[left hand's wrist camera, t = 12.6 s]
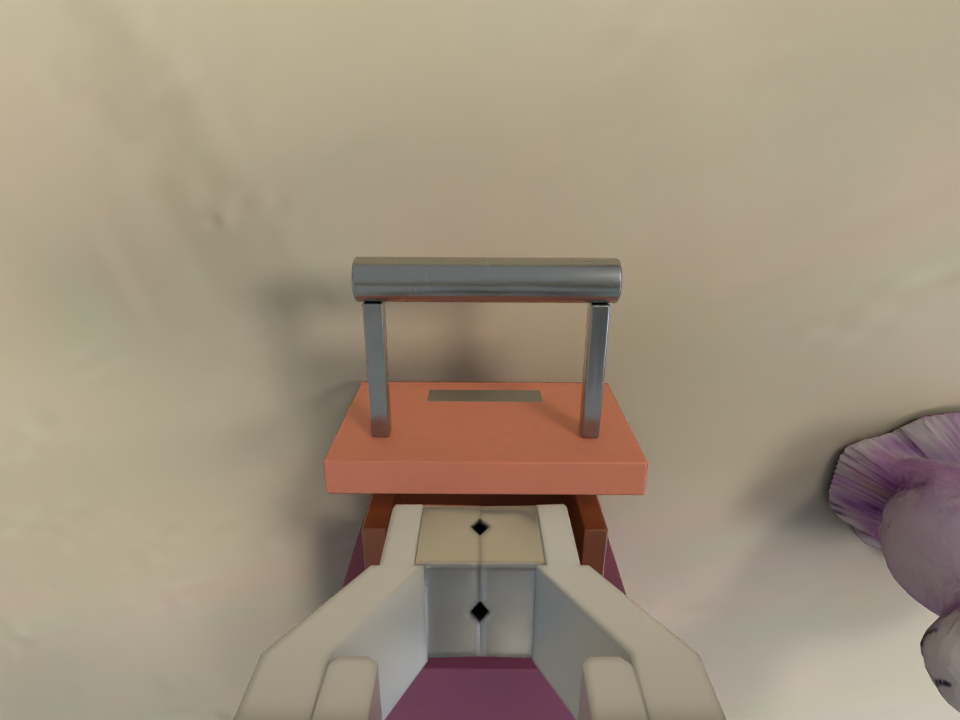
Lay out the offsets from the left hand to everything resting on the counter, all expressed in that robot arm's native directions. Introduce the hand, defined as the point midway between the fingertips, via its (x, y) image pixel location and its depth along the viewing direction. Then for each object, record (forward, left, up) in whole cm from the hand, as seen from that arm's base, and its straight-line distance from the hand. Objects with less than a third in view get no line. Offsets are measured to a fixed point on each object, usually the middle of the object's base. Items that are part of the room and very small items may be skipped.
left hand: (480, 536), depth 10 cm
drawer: (+9, 0, -14) cm, 17 cm away
